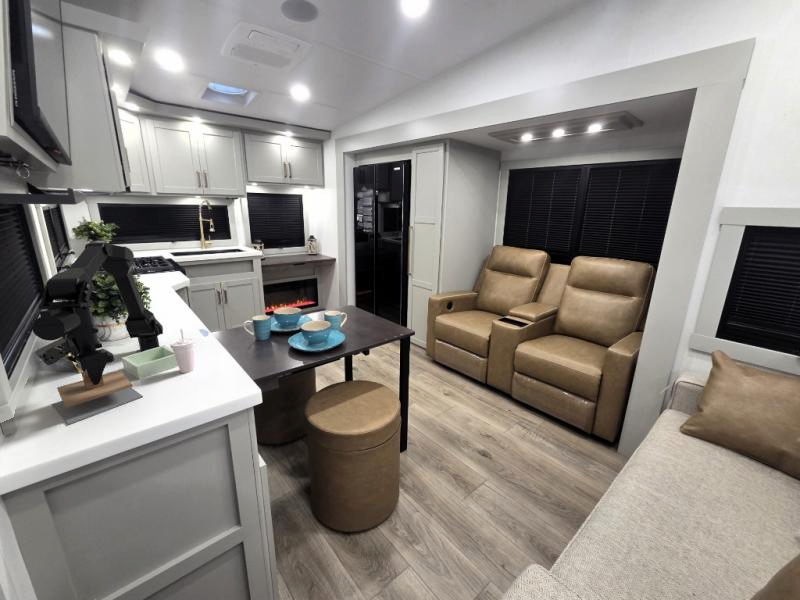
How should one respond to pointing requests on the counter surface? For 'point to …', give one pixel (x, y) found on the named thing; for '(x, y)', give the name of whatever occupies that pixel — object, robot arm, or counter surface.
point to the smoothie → (184, 353)
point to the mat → (96, 405)
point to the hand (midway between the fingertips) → (93, 382)
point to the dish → (150, 362)
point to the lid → (92, 388)
